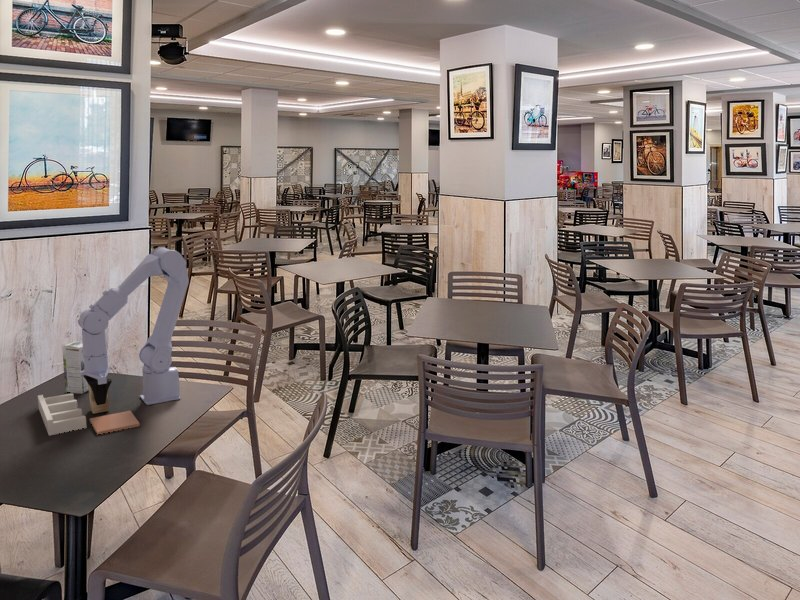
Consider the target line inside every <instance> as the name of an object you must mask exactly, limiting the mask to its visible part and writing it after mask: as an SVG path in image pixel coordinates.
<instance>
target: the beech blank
mask: <svg viewBox="0 0 800 600" xmlns="http://www.w3.org/2000/svg"><path fill="white" fill-rule="evenodd" d="M88 387H89V391H88V396H89V397H88V398H89V409H90V411H91V413H92V415H95V414H100V413H105V412H109V411H110V400H109V391H108V392H107V398H106V403H105V404H102V405H97V404H96V402H95V398H94V394H93V391H92V389H91V387H90V386H89V384H88Z"/></svg>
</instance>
